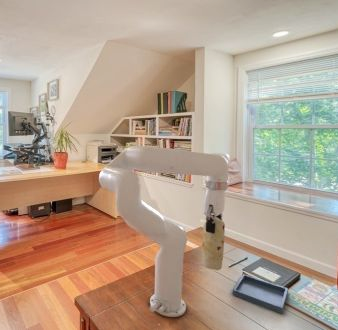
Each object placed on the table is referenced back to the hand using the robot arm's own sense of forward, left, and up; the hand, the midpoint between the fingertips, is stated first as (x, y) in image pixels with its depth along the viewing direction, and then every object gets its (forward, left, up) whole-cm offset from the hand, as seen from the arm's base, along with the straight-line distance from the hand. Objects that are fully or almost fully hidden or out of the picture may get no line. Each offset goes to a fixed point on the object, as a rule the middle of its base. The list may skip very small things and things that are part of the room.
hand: (213, 229), depth 100 cm
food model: (0, 0, -16) cm, 16 cm away
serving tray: (+10, -15, -26) cm, 31 cm away
